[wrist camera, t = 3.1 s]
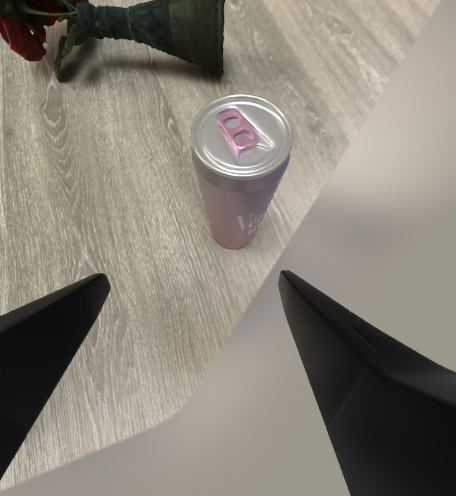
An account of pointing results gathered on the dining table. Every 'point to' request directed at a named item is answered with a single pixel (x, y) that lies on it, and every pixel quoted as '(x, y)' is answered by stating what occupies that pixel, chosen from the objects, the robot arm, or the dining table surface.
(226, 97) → the beverage can
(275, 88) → the dining table surface
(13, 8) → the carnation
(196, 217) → the dining table surface
